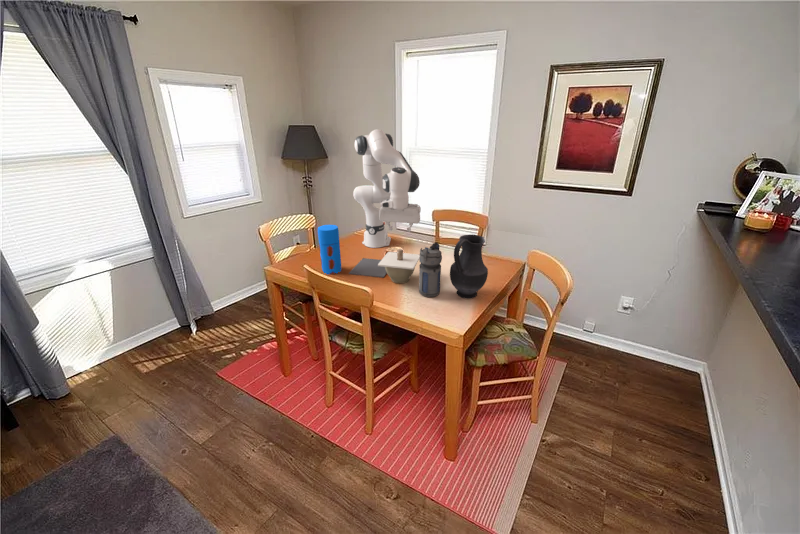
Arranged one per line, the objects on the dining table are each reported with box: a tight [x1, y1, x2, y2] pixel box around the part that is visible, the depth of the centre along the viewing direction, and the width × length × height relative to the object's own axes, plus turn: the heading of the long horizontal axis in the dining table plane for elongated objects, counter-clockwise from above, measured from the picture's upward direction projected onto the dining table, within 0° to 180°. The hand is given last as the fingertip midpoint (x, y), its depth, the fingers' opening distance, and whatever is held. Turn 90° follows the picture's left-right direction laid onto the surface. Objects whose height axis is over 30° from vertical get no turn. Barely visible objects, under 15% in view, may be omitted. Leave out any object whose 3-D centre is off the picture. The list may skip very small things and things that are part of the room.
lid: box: [378, 248, 420, 270], centre depth 176 cm, size 18×18×6 cm
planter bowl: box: [385, 266, 416, 284], centre depth 179 cm, size 16×16×11 cm
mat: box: [348, 257, 388, 279], centre depth 196 cm, size 22×20×1 cm
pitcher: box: [449, 234, 489, 300], centre depth 159 cm, size 17×21×30 cm
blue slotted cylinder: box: [317, 224, 342, 275], centre depth 188 cm, size 11×11×25 cm
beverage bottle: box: [418, 241, 443, 298], centre depth 163 cm, size 10×13×25 cm
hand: (399, 230), depth 171 cm, fingers open, 8 cm apart
